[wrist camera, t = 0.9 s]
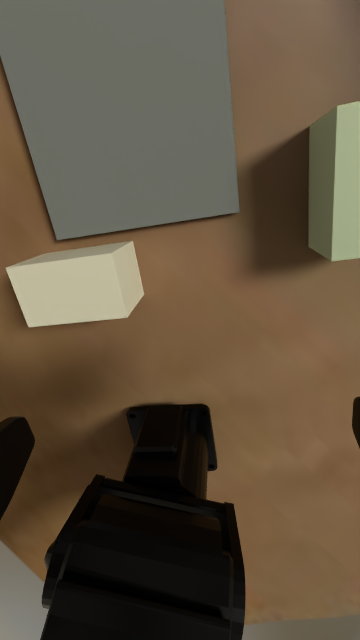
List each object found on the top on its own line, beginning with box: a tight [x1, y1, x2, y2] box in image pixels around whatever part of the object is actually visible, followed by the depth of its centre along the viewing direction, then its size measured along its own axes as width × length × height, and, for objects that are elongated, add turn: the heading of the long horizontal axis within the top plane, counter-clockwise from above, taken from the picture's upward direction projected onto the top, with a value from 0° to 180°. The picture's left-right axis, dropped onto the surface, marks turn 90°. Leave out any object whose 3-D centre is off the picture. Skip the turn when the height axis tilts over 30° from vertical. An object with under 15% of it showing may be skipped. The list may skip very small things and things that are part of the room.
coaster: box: [0, 0, 240, 240], centre depth 15 cm, size 11×11×1 cm
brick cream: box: [6, 241, 144, 327], centre depth 18 cm, size 6×4×4 cm, turn 99°
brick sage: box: [308, 101, 360, 261], centre depth 14 cm, size 6×4×4 cm, turn 9°
